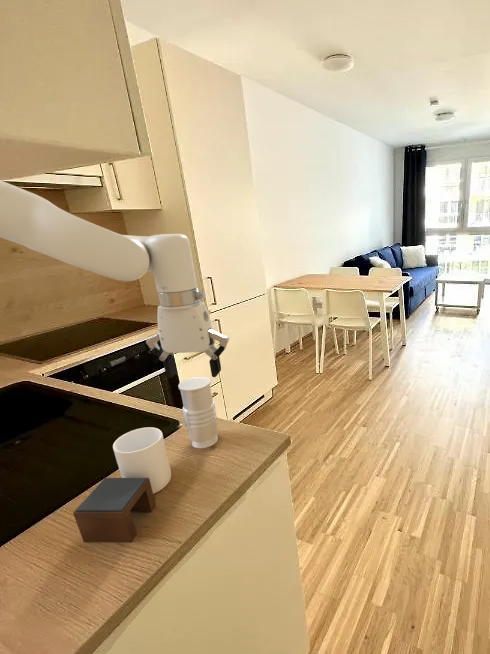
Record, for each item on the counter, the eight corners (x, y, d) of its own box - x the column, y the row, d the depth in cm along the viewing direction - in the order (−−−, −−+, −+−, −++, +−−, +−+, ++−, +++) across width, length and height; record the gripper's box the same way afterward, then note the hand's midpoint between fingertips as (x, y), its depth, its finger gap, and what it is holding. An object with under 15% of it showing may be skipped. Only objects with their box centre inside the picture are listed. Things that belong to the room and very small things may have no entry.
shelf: (83, 542, 58) (72, 511, 56) (113, 505, 66) (104, 476, 64) (131, 542, 58) (122, 511, 56) (156, 505, 66) (148, 476, 63)
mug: (142, 460, 78) (131, 419, 74) (182, 456, 79) (173, 415, 75) (118, 501, 67) (104, 454, 63) (164, 496, 68) (153, 450, 64)
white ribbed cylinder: (183, 442, 84) (171, 384, 79) (210, 429, 89) (200, 374, 84) (199, 453, 80) (187, 393, 74) (226, 439, 85) (217, 381, 79)
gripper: (227, 293, 76) (238, 367, 82) (147, 295, 76) (163, 369, 82) (215, 301, 69) (228, 381, 75) (126, 303, 69) (146, 383, 75)
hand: (194, 375), depth 78 cm, fingers open, 9 cm apart
